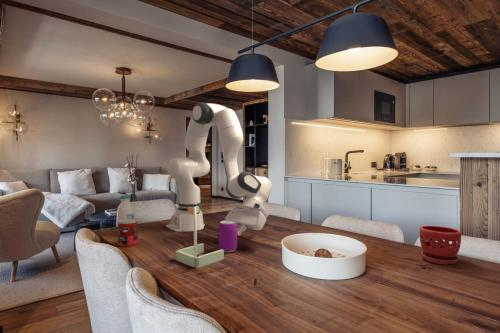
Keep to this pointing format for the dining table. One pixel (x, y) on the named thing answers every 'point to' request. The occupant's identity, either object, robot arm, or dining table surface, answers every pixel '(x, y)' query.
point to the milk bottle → (125, 208)
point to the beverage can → (227, 236)
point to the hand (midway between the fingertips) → (236, 234)
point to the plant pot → (440, 244)
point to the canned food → (127, 232)
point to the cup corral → (197, 250)
